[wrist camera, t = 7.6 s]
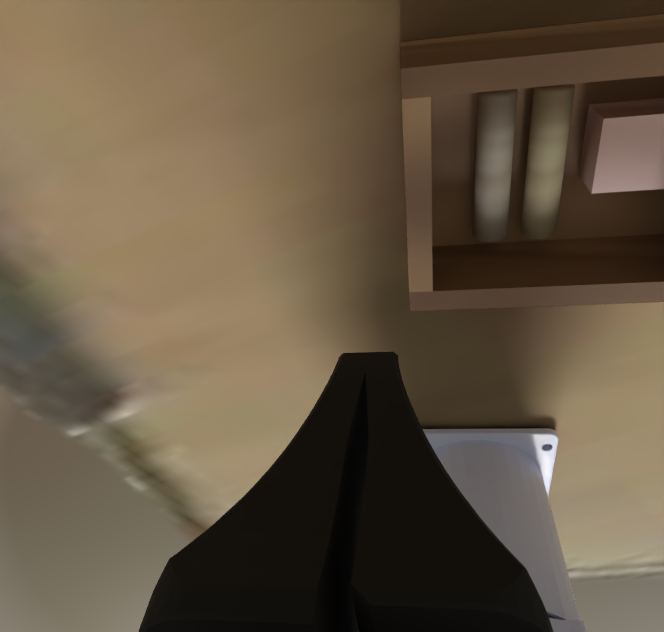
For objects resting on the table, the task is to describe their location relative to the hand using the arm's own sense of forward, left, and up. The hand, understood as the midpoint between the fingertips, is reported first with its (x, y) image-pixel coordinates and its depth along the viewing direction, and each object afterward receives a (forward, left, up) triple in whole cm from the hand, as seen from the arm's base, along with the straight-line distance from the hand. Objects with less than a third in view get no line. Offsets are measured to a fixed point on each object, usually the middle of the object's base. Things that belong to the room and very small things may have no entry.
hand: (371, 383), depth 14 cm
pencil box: (+2, -9, -10) cm, 14 cm away
